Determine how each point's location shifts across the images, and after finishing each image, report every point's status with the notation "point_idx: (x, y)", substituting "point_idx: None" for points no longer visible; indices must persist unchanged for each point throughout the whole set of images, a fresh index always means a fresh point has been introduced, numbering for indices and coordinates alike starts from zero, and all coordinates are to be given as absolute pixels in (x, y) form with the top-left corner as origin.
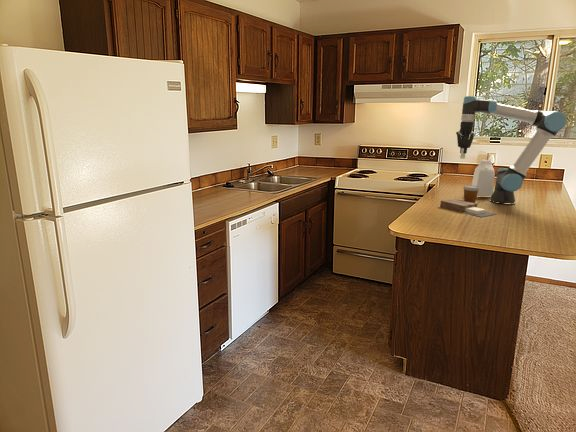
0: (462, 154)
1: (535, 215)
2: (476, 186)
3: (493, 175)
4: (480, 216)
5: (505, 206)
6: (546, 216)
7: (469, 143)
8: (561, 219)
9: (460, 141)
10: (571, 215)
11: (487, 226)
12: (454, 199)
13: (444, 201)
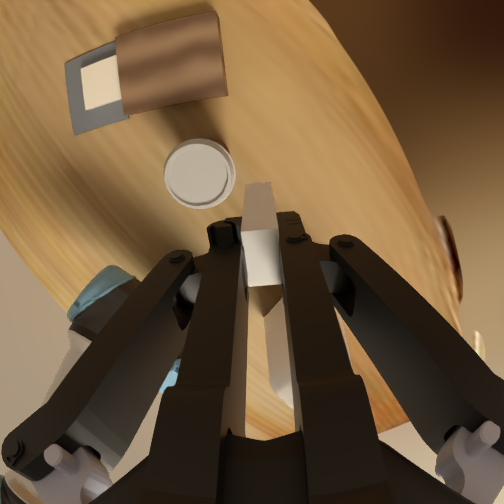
0: (247, 198)
1: (59, 238)
2: (194, 205)
3: (271, 374)
4: (66, 63)
5: (154, 257)
6: (52, 254)
7: (133, 303)
8: (33, 259)
9: (366, 324)
10: (64, 310)
11: (18, 32)
12: (214, 81)
13: (198, 15)
